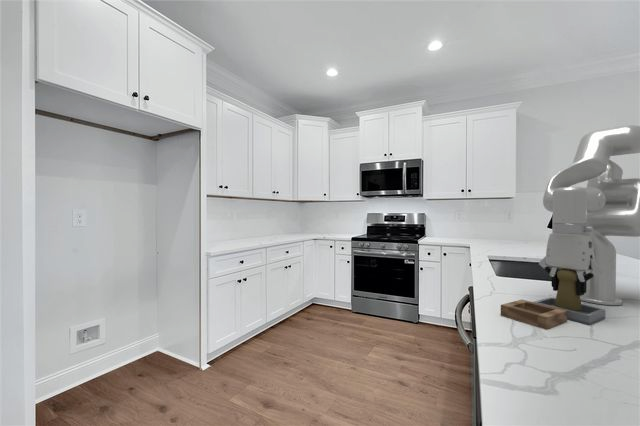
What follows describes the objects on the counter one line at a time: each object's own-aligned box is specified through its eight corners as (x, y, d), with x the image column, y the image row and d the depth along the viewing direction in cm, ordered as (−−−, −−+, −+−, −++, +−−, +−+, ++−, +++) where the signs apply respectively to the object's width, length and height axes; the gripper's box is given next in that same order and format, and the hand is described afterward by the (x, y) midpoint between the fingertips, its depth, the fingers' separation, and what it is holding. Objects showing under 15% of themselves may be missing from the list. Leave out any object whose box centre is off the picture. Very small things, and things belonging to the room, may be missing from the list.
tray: (550, 305, 92) (550, 297, 92) (605, 318, 80) (605, 309, 80) (533, 310, 87) (533, 302, 87) (589, 325, 75) (589, 315, 75)
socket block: (521, 309, 87) (521, 299, 87) (567, 321, 78) (567, 310, 78) (500, 315, 82) (500, 304, 82) (546, 329, 72) (546, 317, 72)
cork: (587, 311, 80) (588, 271, 80) (562, 309, 81) (563, 270, 81) (573, 304, 86) (573, 267, 86) (550, 303, 87) (550, 266, 87)
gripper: (614, 231, 78) (613, 298, 78) (541, 228, 93) (540, 284, 93) (603, 232, 74) (602, 302, 74) (529, 228, 89) (528, 287, 89)
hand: (568, 291), depth 84 cm, fingers closed on cork, 4 cm apart
